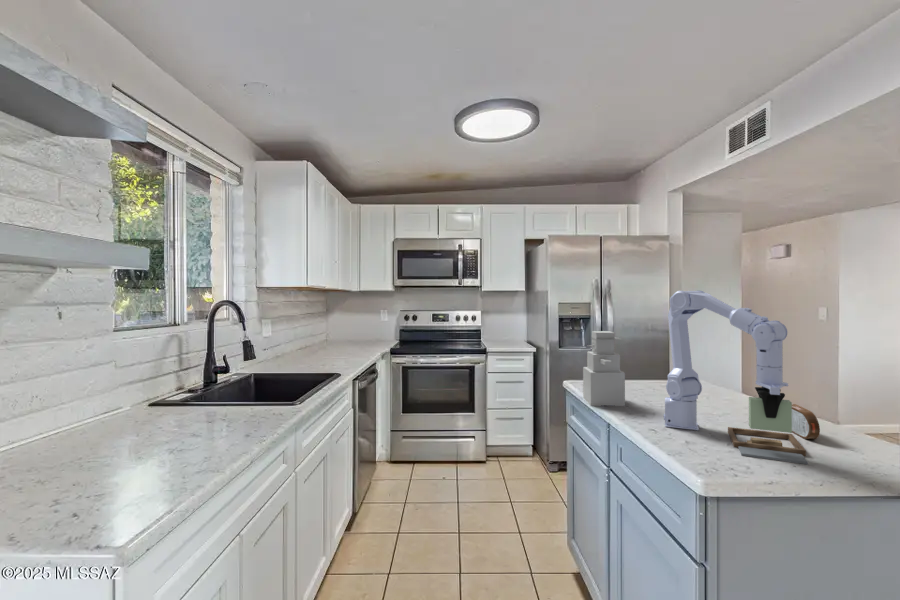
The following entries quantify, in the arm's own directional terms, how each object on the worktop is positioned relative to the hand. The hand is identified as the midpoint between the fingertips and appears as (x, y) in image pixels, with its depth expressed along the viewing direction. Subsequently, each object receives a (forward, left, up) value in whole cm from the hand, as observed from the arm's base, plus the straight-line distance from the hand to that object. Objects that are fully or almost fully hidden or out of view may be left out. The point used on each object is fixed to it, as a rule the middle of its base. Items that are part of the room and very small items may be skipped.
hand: (769, 416), depth 118 cm
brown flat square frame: (0, +8, -10) cm, 13 cm away
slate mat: (0, -3, -10) cm, 10 cm away
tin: (+11, +22, -10) cm, 26 cm away
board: (0, 0, -4) cm, 4 cm away
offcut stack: (0, +6, -10) cm, 12 cm away
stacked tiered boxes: (-48, +39, -10) cm, 63 cm away
